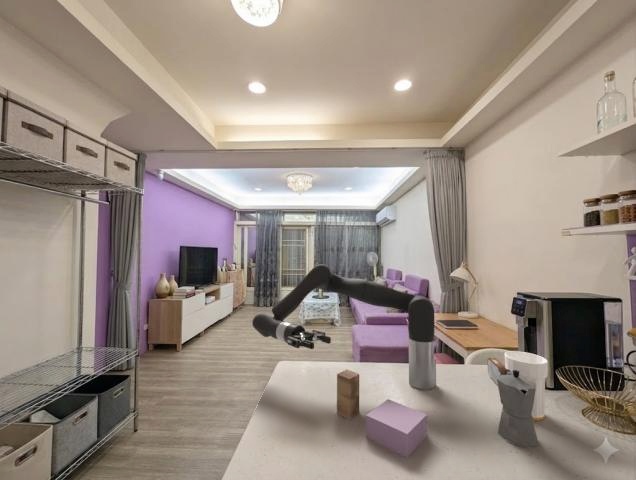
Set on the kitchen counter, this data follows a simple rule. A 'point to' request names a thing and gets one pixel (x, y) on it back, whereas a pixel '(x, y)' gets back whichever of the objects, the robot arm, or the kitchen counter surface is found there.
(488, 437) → the kitchen counter surface
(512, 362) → the cup
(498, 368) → the tin
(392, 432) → the base block
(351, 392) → the walnut block
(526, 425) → the coffeepot
